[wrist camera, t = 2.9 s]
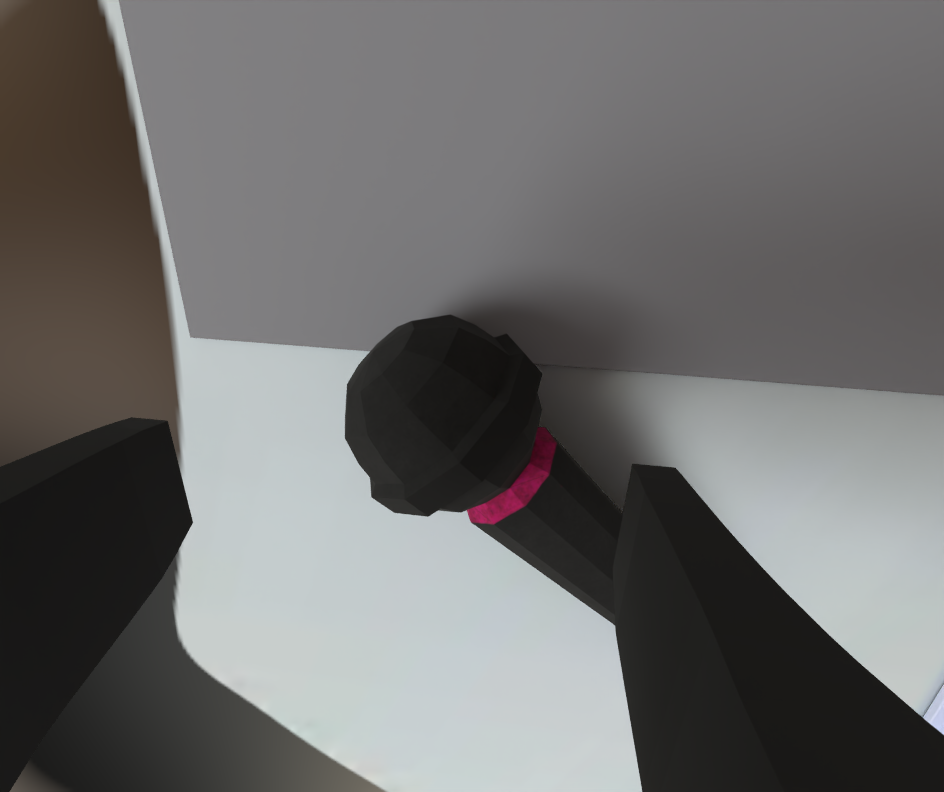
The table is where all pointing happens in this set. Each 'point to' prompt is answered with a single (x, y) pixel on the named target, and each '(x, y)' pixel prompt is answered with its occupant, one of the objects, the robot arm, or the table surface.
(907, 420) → the table surface
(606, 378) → the table surface
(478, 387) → the microphone
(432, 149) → the charcoal mat
